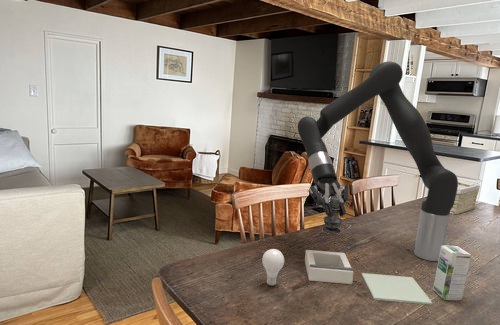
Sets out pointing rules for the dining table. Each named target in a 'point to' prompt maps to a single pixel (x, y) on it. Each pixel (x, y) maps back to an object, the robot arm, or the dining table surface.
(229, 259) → the dining table surface
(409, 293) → the mat
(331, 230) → the grey chess piece
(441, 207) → the robot arm
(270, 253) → the lightbulb
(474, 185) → the storage basket
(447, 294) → the syrup box
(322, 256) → the holder
